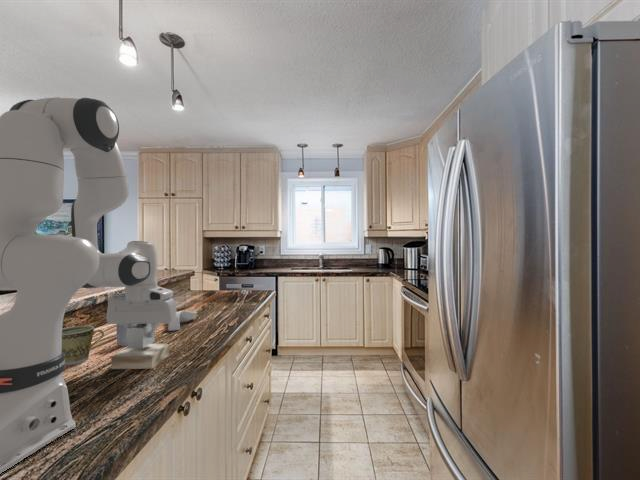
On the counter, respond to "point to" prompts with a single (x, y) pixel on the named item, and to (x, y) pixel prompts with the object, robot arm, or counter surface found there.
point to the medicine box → (122, 335)
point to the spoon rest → (181, 319)
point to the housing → (139, 336)
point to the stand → (140, 357)
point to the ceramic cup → (77, 343)
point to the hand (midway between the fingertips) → (141, 337)
